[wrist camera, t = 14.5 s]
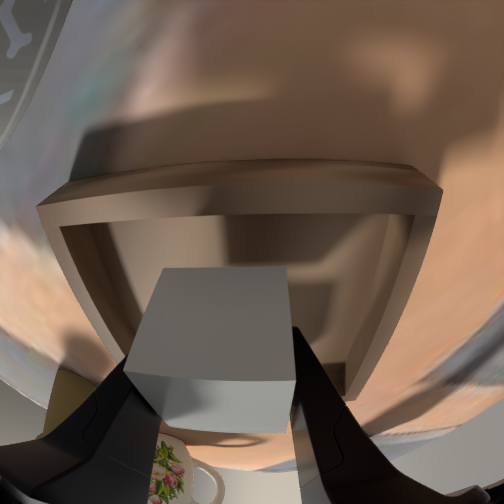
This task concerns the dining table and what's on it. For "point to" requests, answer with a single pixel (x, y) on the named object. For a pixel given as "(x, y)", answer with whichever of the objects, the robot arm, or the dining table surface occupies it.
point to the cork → (65, 398)
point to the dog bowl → (25, 53)
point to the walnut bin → (253, 244)
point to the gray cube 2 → (217, 349)
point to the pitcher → (177, 474)
